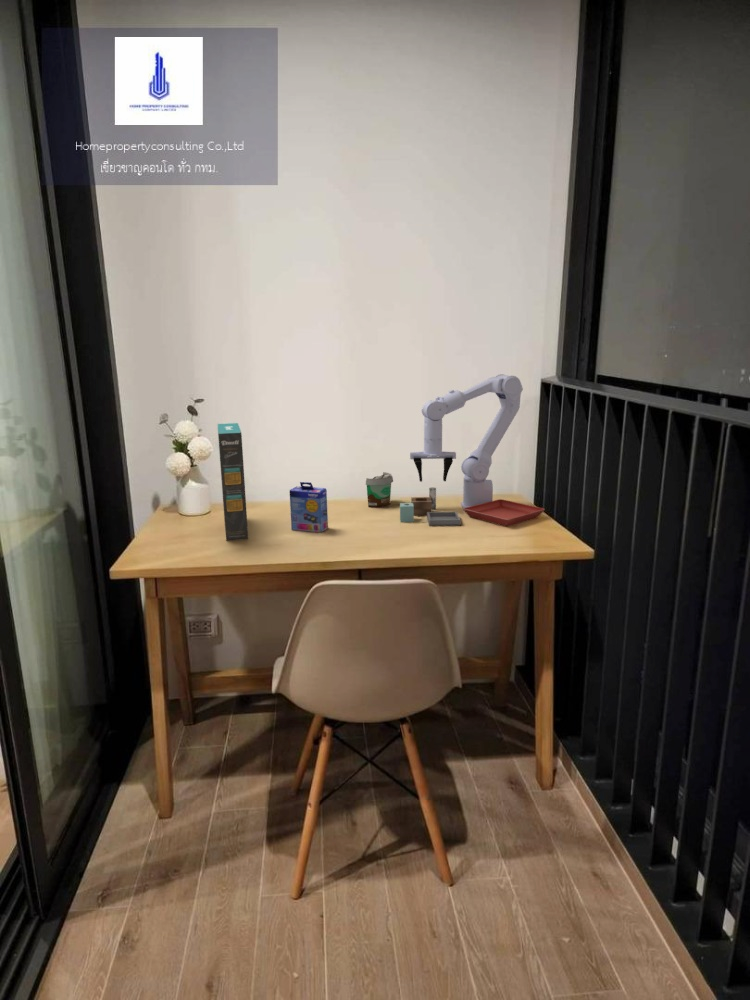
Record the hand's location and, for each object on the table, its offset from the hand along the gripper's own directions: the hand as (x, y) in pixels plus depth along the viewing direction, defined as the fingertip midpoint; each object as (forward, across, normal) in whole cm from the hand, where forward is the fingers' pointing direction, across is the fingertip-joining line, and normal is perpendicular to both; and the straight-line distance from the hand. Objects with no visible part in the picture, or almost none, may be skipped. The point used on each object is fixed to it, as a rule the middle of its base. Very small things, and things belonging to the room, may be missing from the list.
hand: (432, 480), depth 206 cm
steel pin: (+9, 0, 0) cm, 9 cm away
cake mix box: (+10, -60, -20) cm, 64 cm away
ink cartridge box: (+10, -38, -21) cm, 44 cm away
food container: (+10, -16, +6) cm, 20 cm away
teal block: (+10, -9, -13) cm, 18 cm away
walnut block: (+9, -4, -5) cm, 11 cm away
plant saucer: (+10, +21, -11) cm, 26 cm away
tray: (+9, +2, -15) cm, 18 cm away
